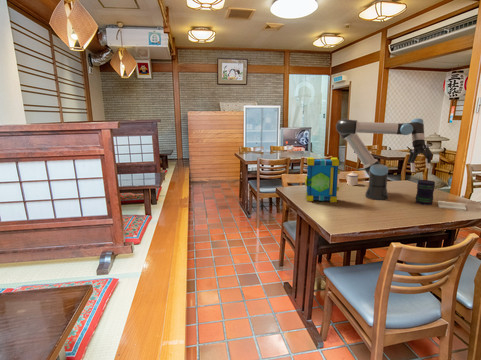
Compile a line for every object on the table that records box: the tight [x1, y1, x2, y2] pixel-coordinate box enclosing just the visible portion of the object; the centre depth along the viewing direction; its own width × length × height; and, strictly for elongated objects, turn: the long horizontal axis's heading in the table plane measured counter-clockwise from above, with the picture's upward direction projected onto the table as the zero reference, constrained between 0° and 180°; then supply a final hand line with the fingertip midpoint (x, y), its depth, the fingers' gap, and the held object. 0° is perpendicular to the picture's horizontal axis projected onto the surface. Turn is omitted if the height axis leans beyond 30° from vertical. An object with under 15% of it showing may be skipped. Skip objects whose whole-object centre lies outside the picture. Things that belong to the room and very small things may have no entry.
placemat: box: [437, 200, 467, 212], centre depth 180 cm, size 14×14×1 cm
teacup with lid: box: [345, 171, 359, 186], centre depth 245 cm, size 12×9×12 cm
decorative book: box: [304, 156, 341, 203], centre depth 195 cm, size 14×23×30 cm, turn 78°
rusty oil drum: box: [414, 179, 436, 206], centre depth 187 cm, size 10×10×15 cm
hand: (420, 170), depth 194 cm, fingers open, 13 cm apart
